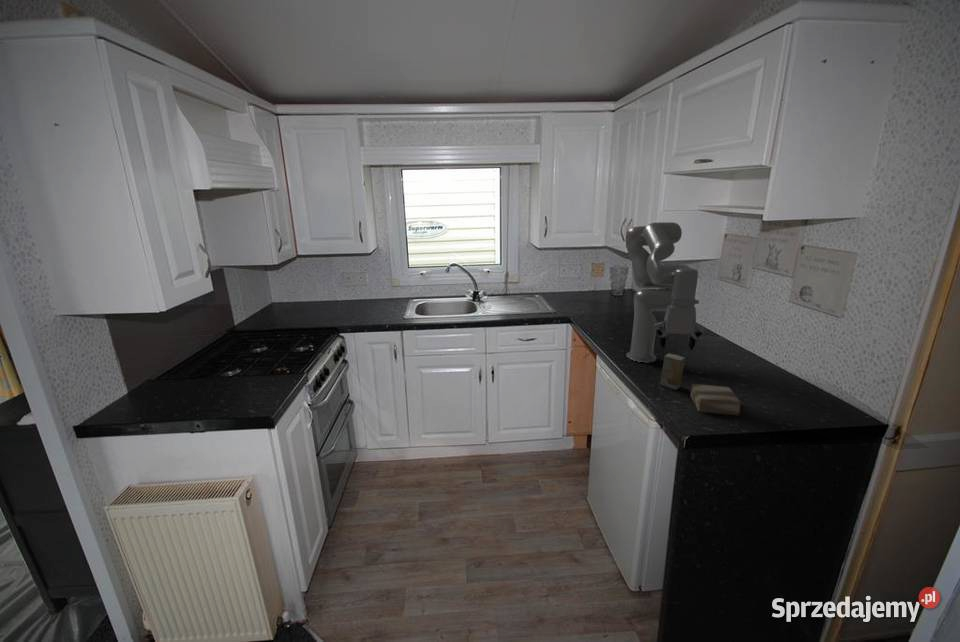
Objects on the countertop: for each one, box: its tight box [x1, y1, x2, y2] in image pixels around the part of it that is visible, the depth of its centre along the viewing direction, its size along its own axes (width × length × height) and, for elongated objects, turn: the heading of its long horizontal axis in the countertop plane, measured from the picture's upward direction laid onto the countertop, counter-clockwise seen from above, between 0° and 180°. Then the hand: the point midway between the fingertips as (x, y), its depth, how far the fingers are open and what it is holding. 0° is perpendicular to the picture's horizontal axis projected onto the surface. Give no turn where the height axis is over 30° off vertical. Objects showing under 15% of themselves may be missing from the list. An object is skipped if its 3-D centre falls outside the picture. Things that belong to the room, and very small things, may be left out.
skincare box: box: [659, 352, 686, 391], centre depth 153 cm, size 6×4×12 cm
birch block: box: [689, 383, 742, 416], centre depth 139 cm, size 12×12×5 cm
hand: (676, 347), depth 149 cm, fingers open, 9 cm apart
